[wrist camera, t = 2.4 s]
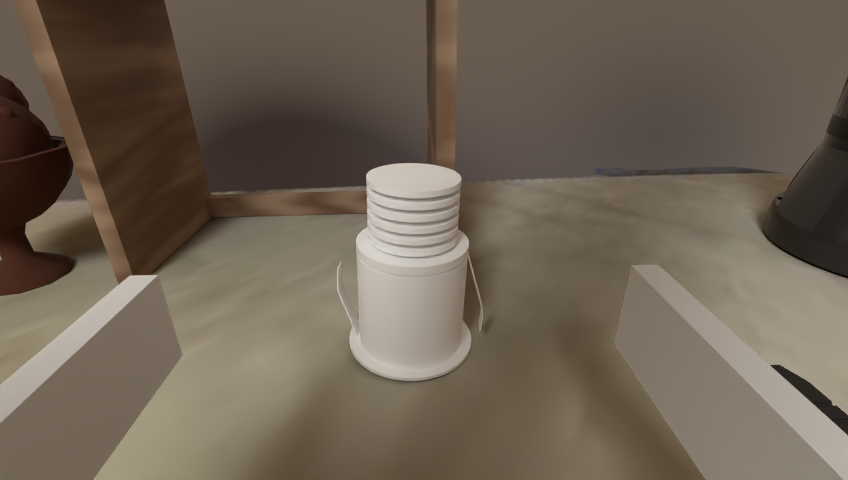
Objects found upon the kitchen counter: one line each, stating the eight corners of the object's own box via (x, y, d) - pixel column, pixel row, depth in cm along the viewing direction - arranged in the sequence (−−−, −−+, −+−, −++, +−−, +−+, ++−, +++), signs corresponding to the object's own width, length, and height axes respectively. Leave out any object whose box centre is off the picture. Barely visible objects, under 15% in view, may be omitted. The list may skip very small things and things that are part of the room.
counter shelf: (440, 207, 44) (440, -41, 35) (453, 276, 31) (458, -84, 22) (203, 213, 44) (140, -37, 34) (119, 286, 31) (-17, -79, 22)
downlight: (327, 380, 22) (311, 196, 18) (354, 303, 28) (346, 154, 24) (483, 389, 22) (506, 205, 18) (475, 310, 28) (490, 160, 24)
